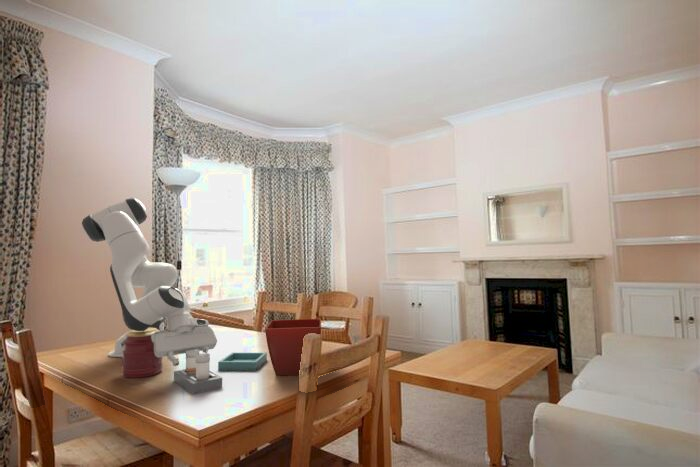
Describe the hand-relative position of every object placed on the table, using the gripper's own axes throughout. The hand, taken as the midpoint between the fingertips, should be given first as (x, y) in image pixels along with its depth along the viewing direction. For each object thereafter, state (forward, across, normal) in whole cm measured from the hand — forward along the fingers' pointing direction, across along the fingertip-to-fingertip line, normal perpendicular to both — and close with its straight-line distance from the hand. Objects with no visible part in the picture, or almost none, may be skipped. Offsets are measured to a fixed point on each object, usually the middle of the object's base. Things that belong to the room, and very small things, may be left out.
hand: (191, 362), depth 132 cm
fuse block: (+8, 0, +1) cm, 8 cm away
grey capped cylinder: (+4, 0, +4) cm, 6 cm away
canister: (-11, -10, +20) cm, 24 cm away
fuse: (+11, 0, -2) cm, 11 cm away
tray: (0, +22, +8) cm, 23 cm away
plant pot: (+14, +32, -5) cm, 35 cm away
